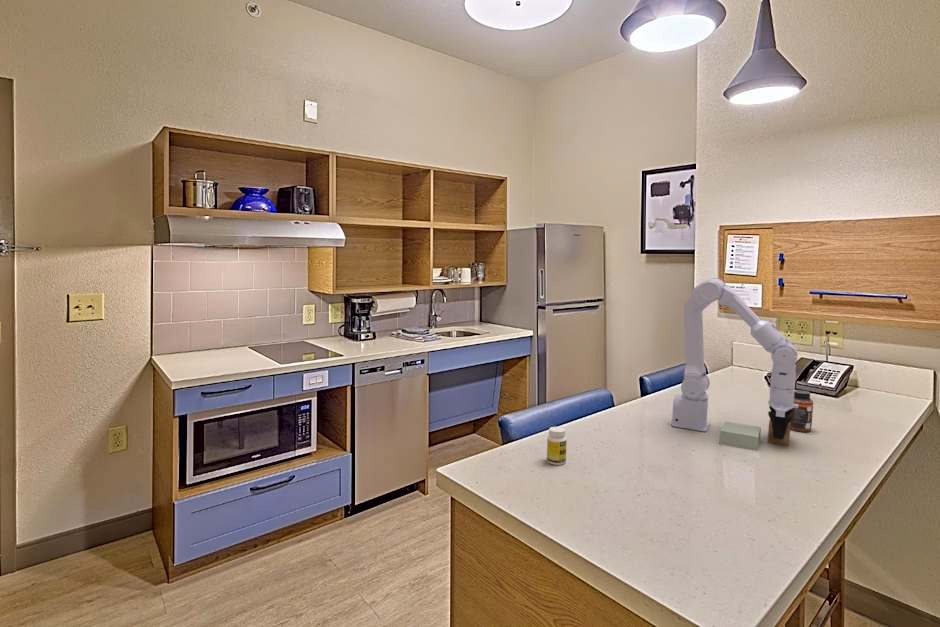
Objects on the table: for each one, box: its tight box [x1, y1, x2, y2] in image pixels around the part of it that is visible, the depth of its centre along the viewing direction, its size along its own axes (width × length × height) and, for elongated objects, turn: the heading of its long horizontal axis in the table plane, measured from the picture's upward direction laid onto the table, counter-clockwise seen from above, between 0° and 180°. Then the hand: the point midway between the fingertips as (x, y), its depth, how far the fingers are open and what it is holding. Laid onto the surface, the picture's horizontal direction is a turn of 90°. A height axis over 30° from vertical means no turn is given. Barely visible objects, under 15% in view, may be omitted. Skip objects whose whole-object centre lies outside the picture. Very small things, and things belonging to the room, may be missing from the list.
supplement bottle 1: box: [546, 426, 567, 466], centre depth 132 cm, size 5×5×8 cm
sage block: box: [719, 421, 762, 451], centre depth 145 cm, size 9×9×4 cm
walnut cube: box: [767, 418, 791, 446], centre depth 145 cm, size 5×5×5 cm
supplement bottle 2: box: [790, 389, 814, 433], centre depth 154 cm, size 6×6×11 cm
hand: (778, 435), depth 146 cm, fingers closed on walnut cube, 5 cm apart
